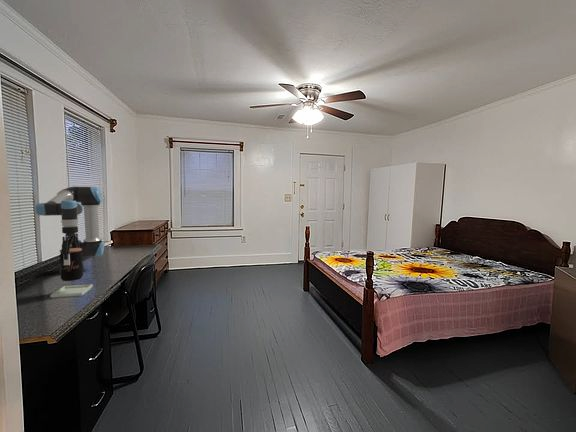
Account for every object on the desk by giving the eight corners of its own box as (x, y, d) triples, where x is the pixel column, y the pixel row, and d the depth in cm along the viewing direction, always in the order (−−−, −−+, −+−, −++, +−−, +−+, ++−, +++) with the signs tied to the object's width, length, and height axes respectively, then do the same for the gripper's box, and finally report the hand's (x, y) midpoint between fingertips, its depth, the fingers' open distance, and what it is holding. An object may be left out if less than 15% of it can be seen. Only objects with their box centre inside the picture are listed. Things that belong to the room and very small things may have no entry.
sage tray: (64, 288, 175) (63, 286, 175) (92, 287, 180) (92, 284, 179) (50, 297, 160) (50, 294, 160) (82, 295, 165) (82, 292, 164)
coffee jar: (57, 282, 163) (55, 251, 161) (66, 276, 173) (64, 248, 171) (78, 280, 165) (77, 250, 164) (86, 275, 176) (85, 247, 174)
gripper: (71, 224, 177) (73, 258, 178) (52, 228, 155) (54, 267, 156) (85, 224, 179) (86, 258, 181) (68, 228, 157) (69, 267, 158)
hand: (71, 262), depth 168 cm, fingers closed on coffee jar, 11 cm apart
